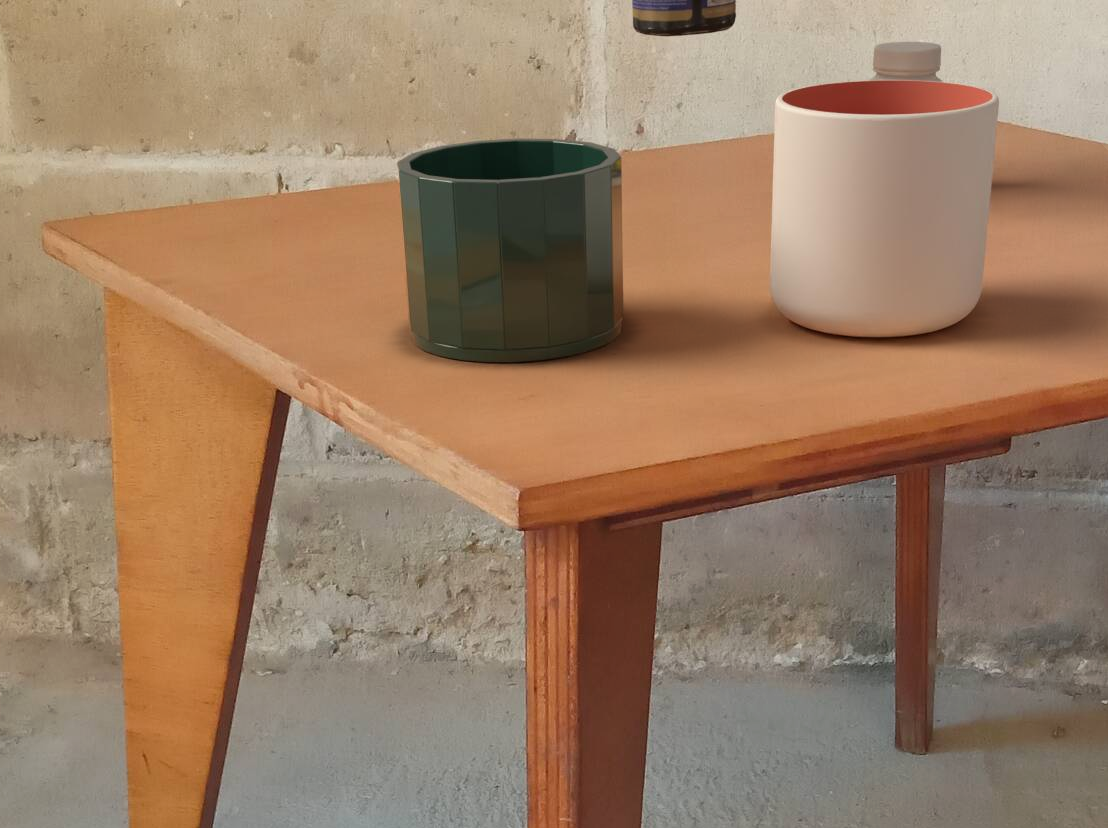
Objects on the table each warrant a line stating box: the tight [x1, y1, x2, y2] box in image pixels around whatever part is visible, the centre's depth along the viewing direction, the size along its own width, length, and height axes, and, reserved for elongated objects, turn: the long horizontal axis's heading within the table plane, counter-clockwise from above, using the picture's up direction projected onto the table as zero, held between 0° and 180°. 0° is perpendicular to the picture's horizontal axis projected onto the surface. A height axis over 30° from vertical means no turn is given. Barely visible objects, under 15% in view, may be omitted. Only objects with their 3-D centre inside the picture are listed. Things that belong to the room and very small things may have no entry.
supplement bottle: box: [869, 41, 943, 82], centre depth 104 cm, size 5×5×8 cm
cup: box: [769, 79, 1000, 338], centre depth 80 cm, size 10×10×10 cm
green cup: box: [396, 138, 624, 363], centre depth 80 cm, size 10×10×8 cm
